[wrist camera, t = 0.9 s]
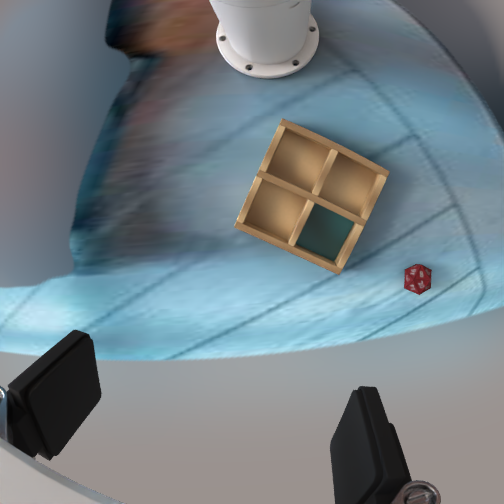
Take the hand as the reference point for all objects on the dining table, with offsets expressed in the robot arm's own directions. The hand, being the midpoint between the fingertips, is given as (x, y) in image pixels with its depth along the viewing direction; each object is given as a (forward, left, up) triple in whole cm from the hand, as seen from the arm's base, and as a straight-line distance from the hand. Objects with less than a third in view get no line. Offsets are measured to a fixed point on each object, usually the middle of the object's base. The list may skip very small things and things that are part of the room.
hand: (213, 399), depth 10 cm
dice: (-3, +20, -30) cm, 36 cm away
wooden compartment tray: (-6, +3, -30) cm, 30 cm away
